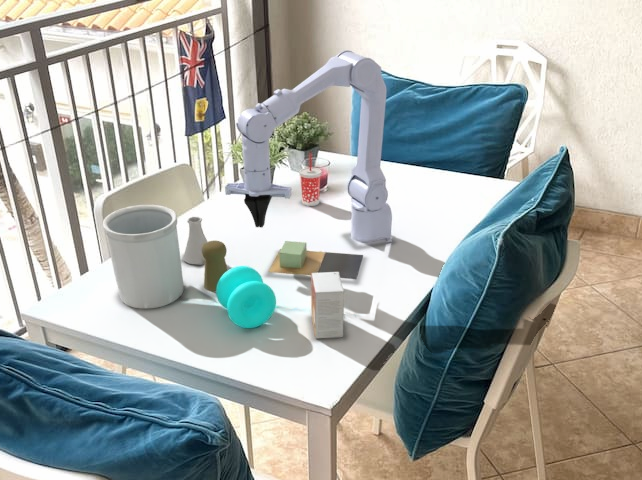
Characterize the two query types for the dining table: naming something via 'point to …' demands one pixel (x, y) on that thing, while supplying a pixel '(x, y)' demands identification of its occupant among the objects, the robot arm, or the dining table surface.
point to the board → (323, 264)
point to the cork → (214, 263)
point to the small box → (327, 304)
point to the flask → (195, 242)
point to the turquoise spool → (246, 297)
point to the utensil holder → (145, 255)
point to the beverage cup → (310, 184)
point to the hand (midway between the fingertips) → (260, 225)
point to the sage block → (293, 254)
